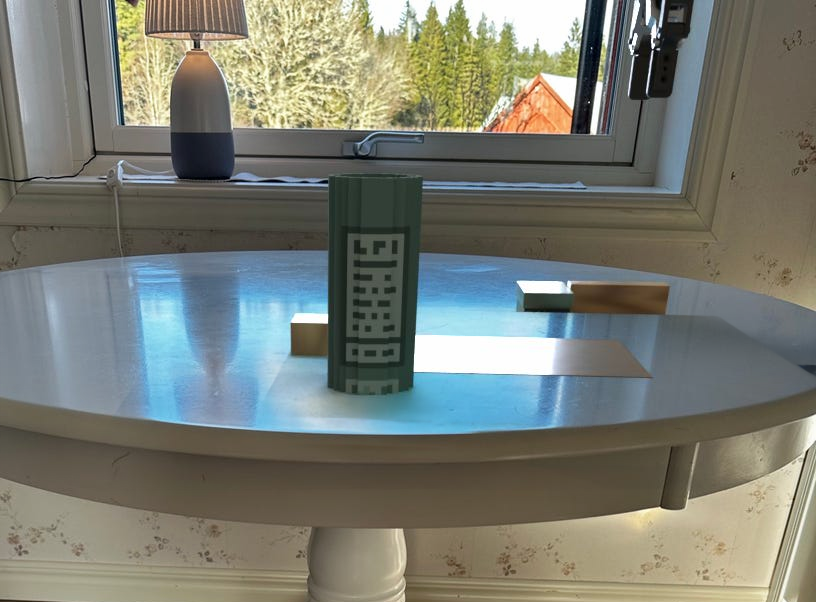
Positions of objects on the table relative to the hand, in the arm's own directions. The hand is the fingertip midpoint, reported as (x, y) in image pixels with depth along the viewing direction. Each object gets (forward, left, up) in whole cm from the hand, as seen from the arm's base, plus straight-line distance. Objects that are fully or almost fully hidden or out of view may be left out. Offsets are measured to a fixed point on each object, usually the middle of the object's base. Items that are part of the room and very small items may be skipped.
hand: (648, 99), depth 91 cm
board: (+14, +26, -20) cm, 36 cm away
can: (+24, +37, -20) cm, 49 cm away
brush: (+3, 0, -20) cm, 20 cm away
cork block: (+27, +26, -18) cm, 42 cm away
